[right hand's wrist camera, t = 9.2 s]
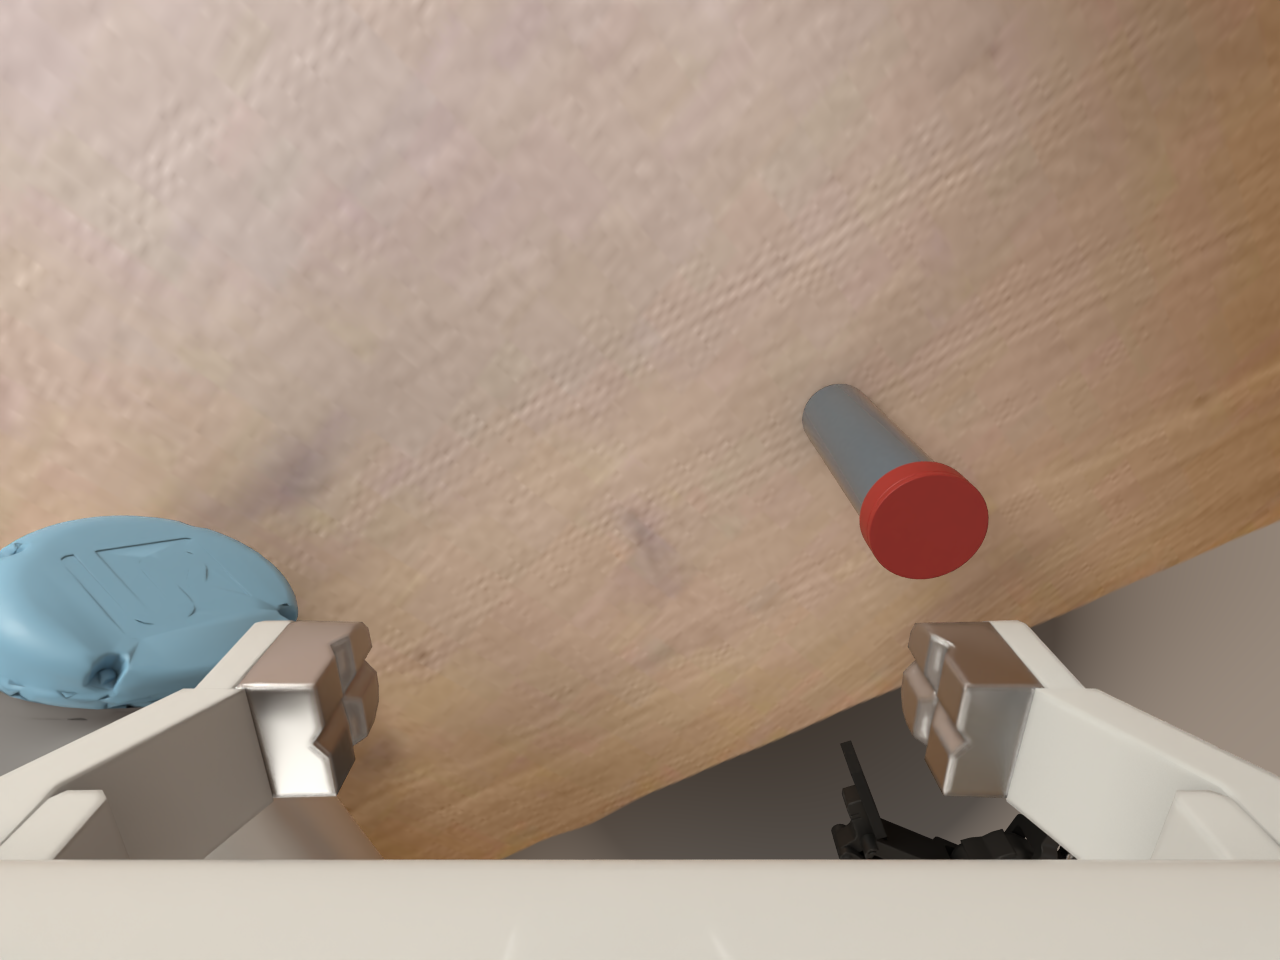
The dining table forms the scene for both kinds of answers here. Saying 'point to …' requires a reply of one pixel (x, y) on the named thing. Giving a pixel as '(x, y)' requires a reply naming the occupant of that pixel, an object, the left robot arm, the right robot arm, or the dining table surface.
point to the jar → (856, 439)
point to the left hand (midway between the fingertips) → (950, 726)
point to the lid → (923, 520)
